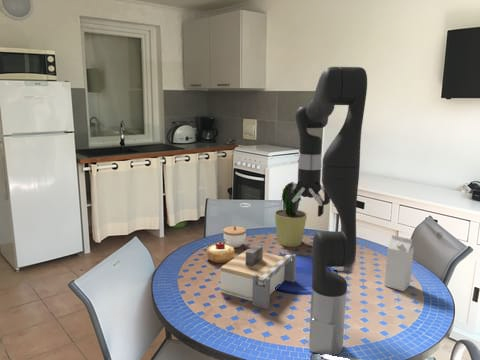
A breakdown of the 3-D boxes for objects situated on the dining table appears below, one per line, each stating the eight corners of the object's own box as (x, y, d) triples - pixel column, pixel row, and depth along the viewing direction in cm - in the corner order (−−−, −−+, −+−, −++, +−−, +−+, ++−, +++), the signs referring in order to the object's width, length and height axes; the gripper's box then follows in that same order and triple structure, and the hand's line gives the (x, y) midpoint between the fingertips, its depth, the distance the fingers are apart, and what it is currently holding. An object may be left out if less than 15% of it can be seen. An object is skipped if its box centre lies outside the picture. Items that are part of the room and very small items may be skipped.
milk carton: (390, 279, 152) (395, 232, 148) (409, 285, 148) (415, 237, 144) (384, 286, 147) (388, 237, 143) (403, 292, 142) (409, 242, 138)
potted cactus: (310, 240, 193) (313, 181, 187) (298, 250, 180) (301, 186, 174) (281, 235, 201) (283, 177, 195) (268, 244, 188) (270, 182, 182)
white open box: (267, 309, 129) (268, 279, 127) (217, 294, 138) (217, 266, 136) (295, 280, 150) (296, 254, 148) (249, 269, 159) (250, 245, 157)
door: (262, 285, 128) (263, 266, 127) (217, 273, 137) (217, 255, 135) (291, 259, 150) (292, 243, 148) (250, 250, 158) (250, 235, 157)
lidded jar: (220, 242, 190) (220, 223, 188) (241, 240, 193) (242, 222, 191) (226, 250, 179) (226, 230, 178) (248, 248, 183) (249, 228, 181)
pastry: (201, 260, 170) (200, 240, 168) (221, 252, 178) (221, 233, 176) (220, 267, 161) (219, 246, 160) (240, 259, 170) (240, 239, 168)
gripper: (285, 167, 131) (283, 214, 134) (327, 170, 125) (325, 219, 128) (293, 164, 138) (291, 209, 141) (333, 167, 131) (331, 214, 134)
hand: (307, 214), depth 134 cm, fingers open, 8 cm apart
